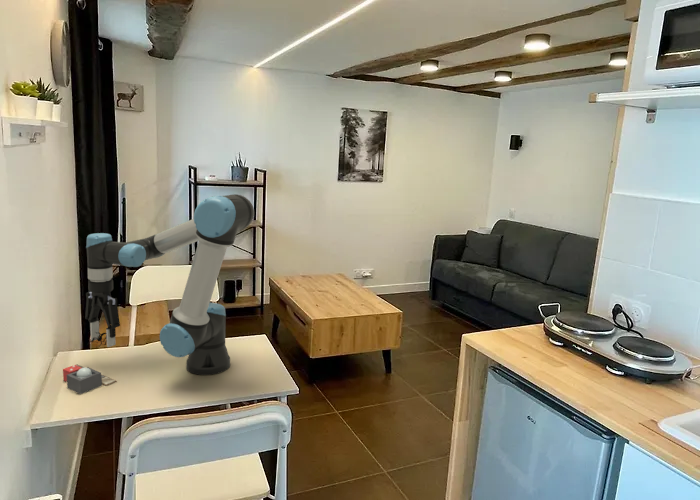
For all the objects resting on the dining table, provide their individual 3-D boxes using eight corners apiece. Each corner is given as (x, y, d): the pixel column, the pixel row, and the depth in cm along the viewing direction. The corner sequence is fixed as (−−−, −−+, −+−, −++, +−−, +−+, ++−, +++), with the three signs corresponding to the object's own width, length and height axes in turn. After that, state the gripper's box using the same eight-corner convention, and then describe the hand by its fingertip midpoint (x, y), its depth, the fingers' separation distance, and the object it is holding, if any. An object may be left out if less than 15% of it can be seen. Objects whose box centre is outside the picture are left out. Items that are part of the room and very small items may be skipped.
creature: (90, 353, 162) (115, 344, 166) (86, 338, 160) (111, 330, 164) (87, 345, 168) (111, 336, 172) (82, 331, 166) (107, 323, 170)
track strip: (117, 381, 158) (117, 380, 158) (105, 386, 155) (105, 384, 155) (77, 365, 169) (76, 363, 169) (65, 369, 165) (65, 367, 165)
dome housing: (101, 385, 155) (101, 372, 154) (80, 394, 149) (79, 380, 148) (88, 380, 158) (87, 367, 158) (67, 388, 152) (66, 374, 152)
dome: (94, 381, 154) (94, 367, 153) (82, 385, 151) (81, 372, 150) (86, 377, 156) (86, 364, 155) (74, 382, 153) (73, 368, 152)
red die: (82, 379, 159) (82, 366, 158) (70, 383, 155) (70, 370, 154) (75, 376, 161) (74, 363, 160) (63, 380, 157) (62, 367, 156)
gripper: (130, 282, 161) (132, 346, 166) (92, 272, 171) (94, 332, 176) (110, 286, 155) (112, 353, 159) (71, 276, 165) (74, 338, 169)
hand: (103, 342), depth 167 cm, fingers closed on creature, 8 cm apart
